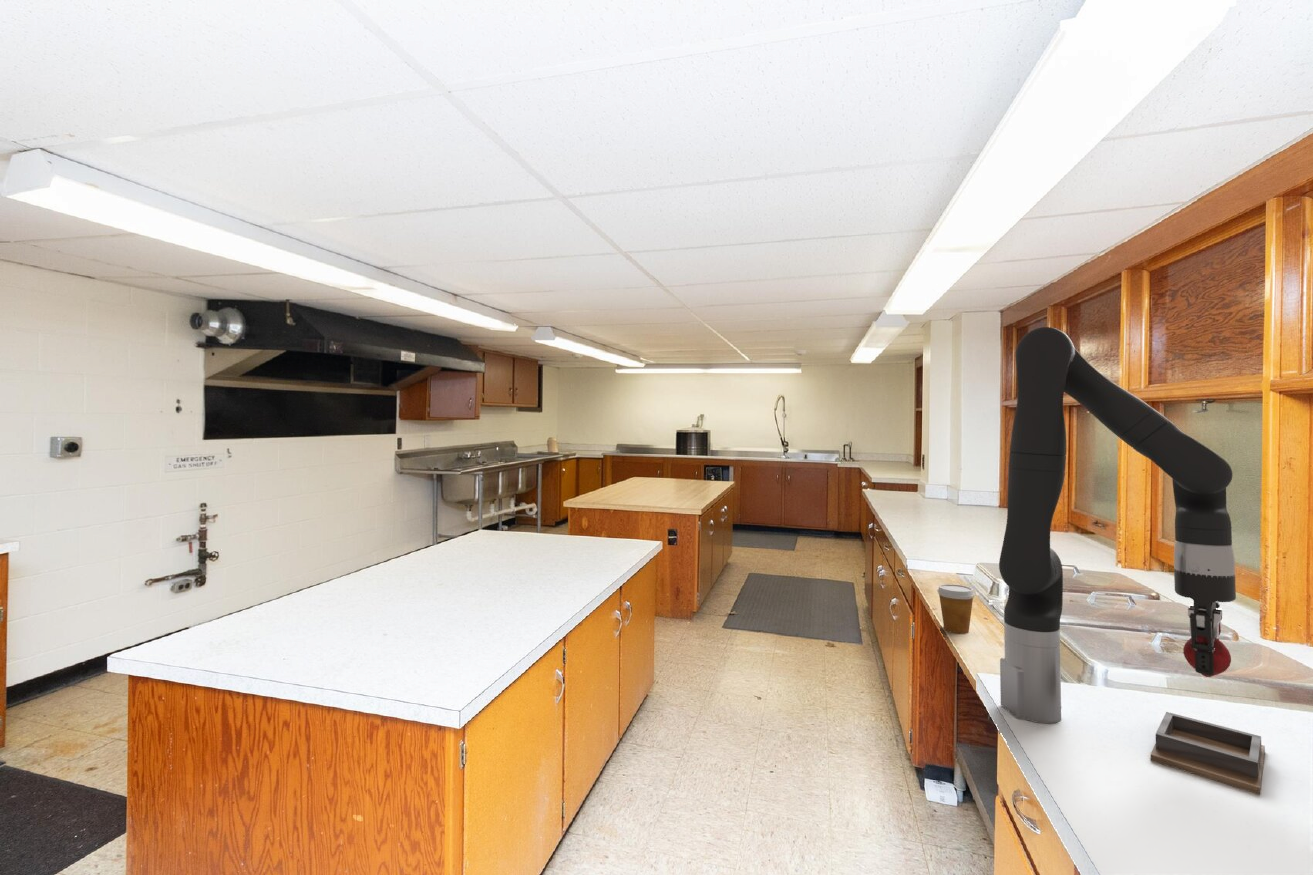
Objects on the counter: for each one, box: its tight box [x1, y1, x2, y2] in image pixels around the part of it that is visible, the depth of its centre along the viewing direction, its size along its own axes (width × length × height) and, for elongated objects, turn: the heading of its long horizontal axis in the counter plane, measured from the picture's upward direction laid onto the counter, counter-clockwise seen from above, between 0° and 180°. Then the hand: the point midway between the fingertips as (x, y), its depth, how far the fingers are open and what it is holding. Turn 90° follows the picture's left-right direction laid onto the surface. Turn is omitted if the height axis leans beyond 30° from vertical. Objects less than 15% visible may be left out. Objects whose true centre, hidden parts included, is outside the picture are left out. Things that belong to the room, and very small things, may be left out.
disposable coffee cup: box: [936, 583, 976, 634], centre depth 163 cm, size 10×10×12 cm
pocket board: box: [1149, 711, 1266, 795], centre depth 97 cm, size 18×13×4 cm
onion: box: [1182, 637, 1232, 678], centre depth 97 cm, size 6×6×8 cm
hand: (1206, 668), depth 97 cm, fingers closed on onion, 6 cm apart
